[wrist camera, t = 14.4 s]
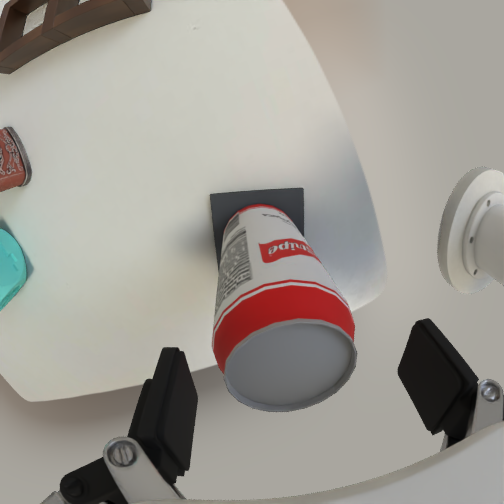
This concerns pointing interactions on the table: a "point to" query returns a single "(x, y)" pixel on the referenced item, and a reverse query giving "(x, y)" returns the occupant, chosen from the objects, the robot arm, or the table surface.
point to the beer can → (278, 316)
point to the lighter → (13, 161)
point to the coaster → (235, 201)
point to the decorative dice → (10, 268)
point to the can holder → (56, 25)
